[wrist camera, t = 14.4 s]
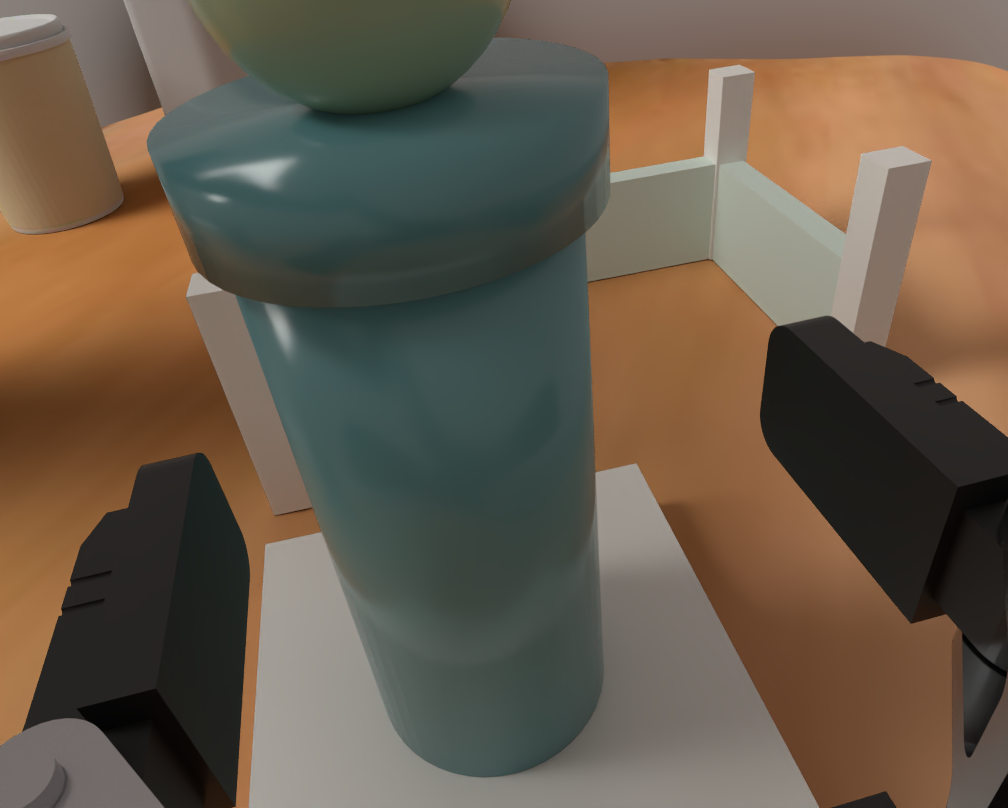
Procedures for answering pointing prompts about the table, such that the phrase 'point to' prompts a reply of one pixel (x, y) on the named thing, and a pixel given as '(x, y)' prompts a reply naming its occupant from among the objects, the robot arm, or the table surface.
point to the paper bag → (179, 51)
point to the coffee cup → (49, 132)
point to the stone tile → (589, 757)
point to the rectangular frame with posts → (665, 257)
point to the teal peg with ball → (421, 337)
